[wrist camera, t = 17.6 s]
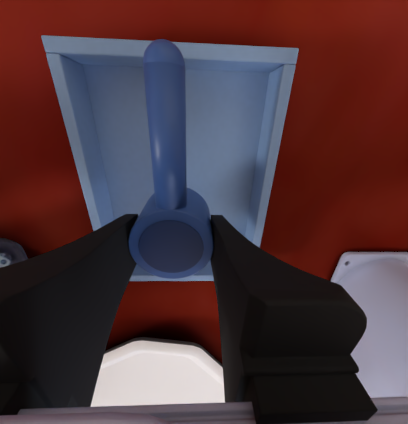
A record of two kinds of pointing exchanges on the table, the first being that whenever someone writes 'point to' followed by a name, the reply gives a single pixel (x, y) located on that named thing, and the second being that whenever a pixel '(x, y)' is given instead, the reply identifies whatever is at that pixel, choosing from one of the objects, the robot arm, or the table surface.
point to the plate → (158, 374)
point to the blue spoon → (169, 177)
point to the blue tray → (195, 127)
